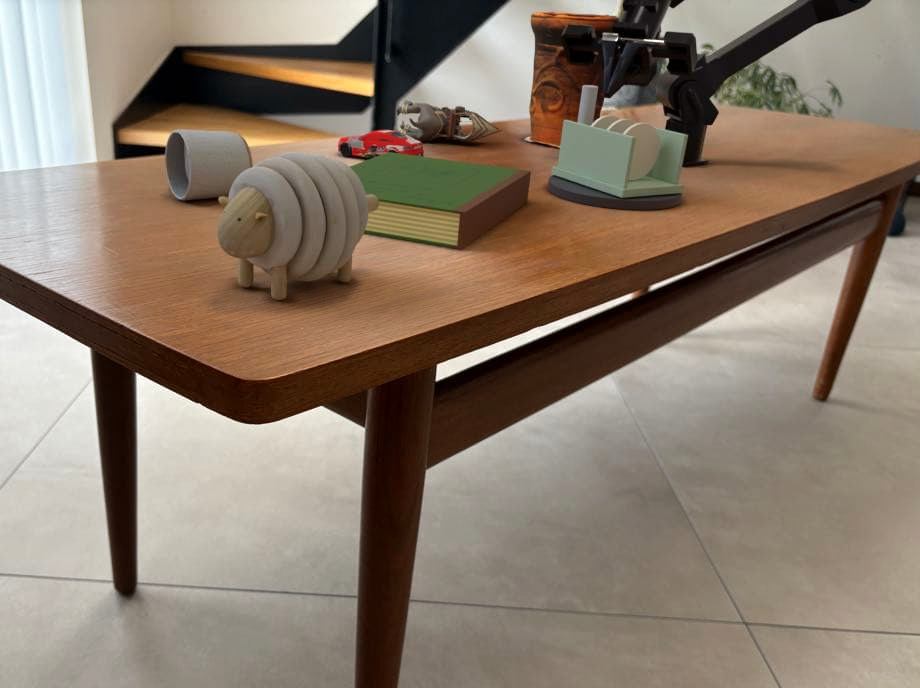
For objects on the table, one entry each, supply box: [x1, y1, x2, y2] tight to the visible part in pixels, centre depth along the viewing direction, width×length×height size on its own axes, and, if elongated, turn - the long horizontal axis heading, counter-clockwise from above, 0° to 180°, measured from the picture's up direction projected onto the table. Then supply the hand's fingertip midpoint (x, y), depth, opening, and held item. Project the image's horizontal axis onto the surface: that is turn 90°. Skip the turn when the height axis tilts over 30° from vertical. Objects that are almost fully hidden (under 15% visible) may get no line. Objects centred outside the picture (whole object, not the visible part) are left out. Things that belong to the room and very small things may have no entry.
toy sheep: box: [216, 150, 379, 301], centre depth 74 cm, size 11×17×11 cm, turn 140°
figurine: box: [393, 99, 503, 143], centre depth 144 cm, size 20×6×17 cm
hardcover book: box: [349, 152, 532, 250], centre depth 101 cm, size 25×19×4 cm
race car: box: [337, 129, 425, 159], centre depth 127 cm, size 13×5×4 cm, turn 60°
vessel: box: [524, 11, 620, 149], centre depth 145 cm, size 14×14×20 cm
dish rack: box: [550, 85, 688, 198], centre depth 112 cm, size 16×10×11 cm, turn 28°
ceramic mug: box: [164, 128, 254, 201], centre depth 102 cm, size 11×8×8 cm
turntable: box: [547, 174, 683, 211], centre depth 114 cm, size 17×17×1 cm
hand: (606, 96), depth 123 cm, fingers closed
